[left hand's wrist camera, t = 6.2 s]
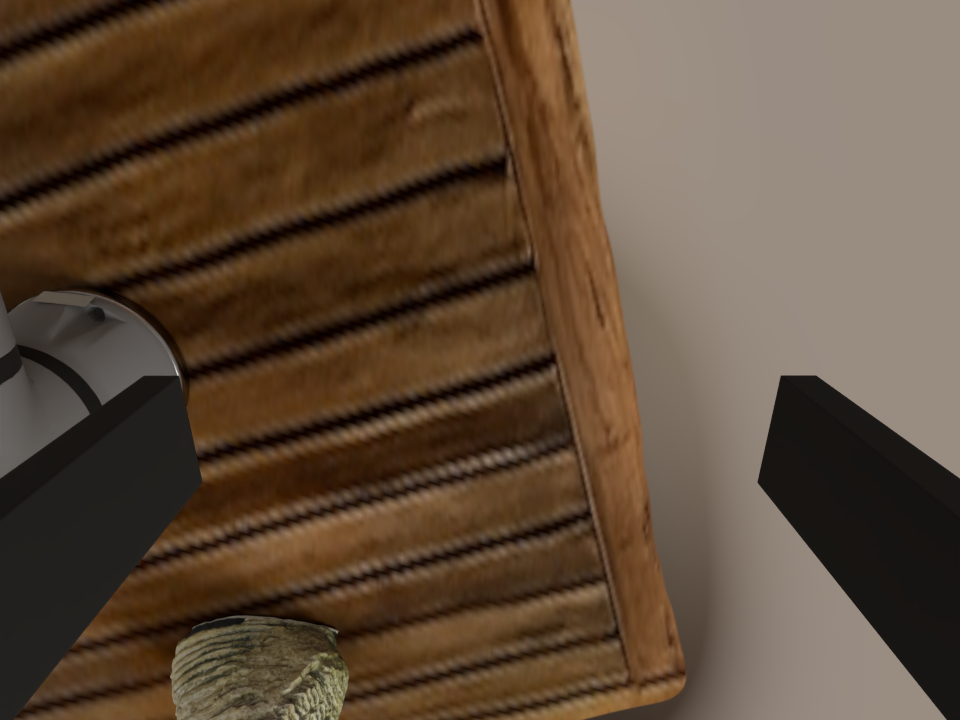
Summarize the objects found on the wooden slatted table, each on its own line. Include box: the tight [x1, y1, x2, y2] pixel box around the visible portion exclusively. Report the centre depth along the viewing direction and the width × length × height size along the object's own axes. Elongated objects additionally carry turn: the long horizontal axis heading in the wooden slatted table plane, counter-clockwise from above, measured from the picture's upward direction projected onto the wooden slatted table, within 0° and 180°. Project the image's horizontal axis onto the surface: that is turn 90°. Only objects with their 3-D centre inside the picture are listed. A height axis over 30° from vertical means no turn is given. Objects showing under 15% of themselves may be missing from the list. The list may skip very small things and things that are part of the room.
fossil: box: [170, 616, 349, 720], centre depth 54 cm, size 9×18×15 cm, turn 101°
